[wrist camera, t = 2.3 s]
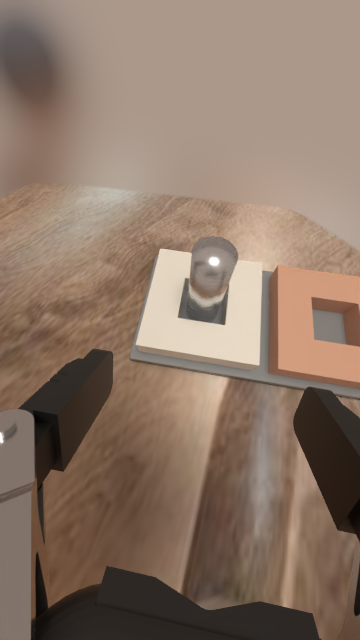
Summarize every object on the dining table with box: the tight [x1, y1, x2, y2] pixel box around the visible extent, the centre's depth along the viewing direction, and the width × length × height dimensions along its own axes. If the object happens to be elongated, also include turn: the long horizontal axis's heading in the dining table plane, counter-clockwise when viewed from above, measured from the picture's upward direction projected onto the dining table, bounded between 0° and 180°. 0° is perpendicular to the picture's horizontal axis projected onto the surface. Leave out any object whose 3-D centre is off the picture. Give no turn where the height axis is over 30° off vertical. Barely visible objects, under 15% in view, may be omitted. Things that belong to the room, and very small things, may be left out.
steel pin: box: [187, 237, 238, 323], centre depth 22 cm, size 4×4×10 cm
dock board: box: [129, 249, 360, 400], centre depth 26 cm, size 28×14×4 cm, turn 80°
